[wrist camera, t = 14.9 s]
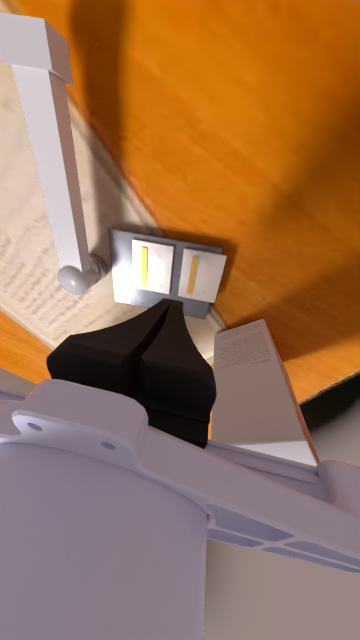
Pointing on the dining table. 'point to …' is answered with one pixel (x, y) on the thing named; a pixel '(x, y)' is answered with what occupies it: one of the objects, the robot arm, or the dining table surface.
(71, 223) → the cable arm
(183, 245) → the grey flat block
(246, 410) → the small box
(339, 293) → the dining table surface
